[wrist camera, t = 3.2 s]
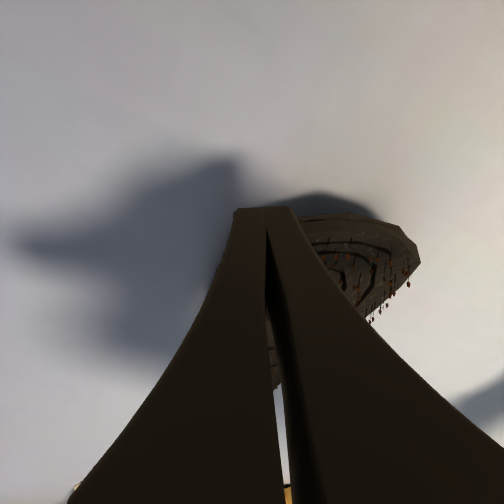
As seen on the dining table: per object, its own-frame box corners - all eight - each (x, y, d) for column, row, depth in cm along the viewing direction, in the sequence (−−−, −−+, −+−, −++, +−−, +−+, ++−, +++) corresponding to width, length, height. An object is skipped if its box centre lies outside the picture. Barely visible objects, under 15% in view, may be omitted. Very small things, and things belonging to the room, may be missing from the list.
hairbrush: (155, 461, 30) (261, 230, 12) (160, 411, 32) (256, 154, 14) (262, 466, 32) (492, 274, 14) (260, 418, 34) (452, 201, 16)
